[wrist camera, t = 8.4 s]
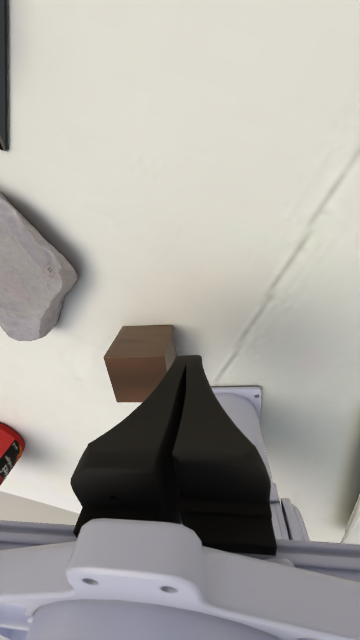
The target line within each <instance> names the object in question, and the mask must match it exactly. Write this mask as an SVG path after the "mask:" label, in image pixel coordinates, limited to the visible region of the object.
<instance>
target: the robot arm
mask: <svg viewBox="0 0 360 640" xmlns="http://www.w3.org/2000/svg"><path fill="white" fill-rule="evenodd" d="M256 394H258V395H256ZM261 399H262V391H261V388H260V387H213V388H211V387H210V384H209V382H208V380H207V378H206V375H205V372H204V369H203V366H202V357H201V356H200V355H190V356H177V357H176V358H175V360H174V361H173V363H172V365H171V366H170V368H169V370H168V371H167V373H166V374H165V376H164V377H163V378H162V380H161V381H160V383H159V384H158V385H157V386H156V388H155V389H154V390H153V391H152V393H151V394H150V395H149V396H148V397H147V398H146V399H145V400H144V401H143V403H142V404H141V405H140V406H139V407H137V408H136V409H135V410H134V411H133V412H132V413H131V414H130V415H129V416H128V417H126V418H125V419H124V420H123V421H121V422H120V423H119V424H118V425H116V426H115V427H114V428H112V429H111V430H109V431H108V432H106V433H105V434H103V435H102V436H100V437H99V438H97V439H96V440H94V441H92V442H91V443H89V444H88V446H87V448H86V449H85V451H84V453H83V455H82V457H81V458H80V461H79V463H78V465H77V467H76V469H75V471H74V473H73V475H72V477H71V486H72V489H73V491H74V493H75V495H76V496H77V498H78V500H79V502H80V503H81V505H82V507H83V508H82V510H81V513H80V516H79V518H78V521H77V523H76V525H63V524H48V523H33V522H17V521H3V520H0V638H2V639H6V640H360V544H345V543H330V542H315V541H310V540H309V537H308V533H307V530H306V527H305V524H304V521H303V518H302V516H301V513H300V511H299V509H298V508H297V507H296V506H295V505H294V504H292V503H291V501H290V500H289V499H287V498H281V505H280V501H279V497H278V493H277V488H276V484H275V483H273V481H272V477H271V472H270V468H269V464H268V459H267V455H266V451H265V446H264V442H263V438H262V433H261V429H260V418H261ZM281 506H282V508H281Z"/></svg>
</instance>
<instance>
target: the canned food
mask: <svg viewBox="0 0 360 640" xmlns="http://www.w3.org/2000/svg"><path fill="white" fill-rule="evenodd" d="M23 450H24V442H23V440H22V438H21V437H20V435H19V434H18V433H17V432H15V431H14V430H13V429H11V428H10V427H8V426H6V425H4V424H2V423H0V485H1V484H2V482H3V481H4V479H5V478H6V477H7V475H8V474H9V472H10V471H11V469H12V468H13V467H14V465H15V464H16V462H17V461H18V459H19V458H20V457H21V455H22V452H23Z"/></svg>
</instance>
